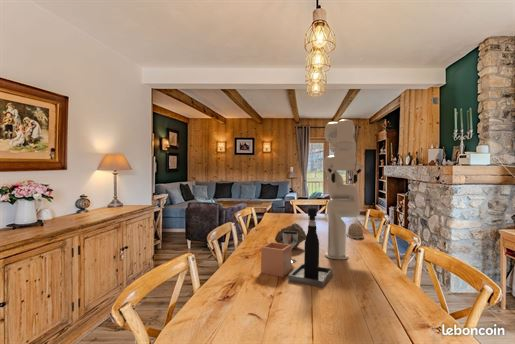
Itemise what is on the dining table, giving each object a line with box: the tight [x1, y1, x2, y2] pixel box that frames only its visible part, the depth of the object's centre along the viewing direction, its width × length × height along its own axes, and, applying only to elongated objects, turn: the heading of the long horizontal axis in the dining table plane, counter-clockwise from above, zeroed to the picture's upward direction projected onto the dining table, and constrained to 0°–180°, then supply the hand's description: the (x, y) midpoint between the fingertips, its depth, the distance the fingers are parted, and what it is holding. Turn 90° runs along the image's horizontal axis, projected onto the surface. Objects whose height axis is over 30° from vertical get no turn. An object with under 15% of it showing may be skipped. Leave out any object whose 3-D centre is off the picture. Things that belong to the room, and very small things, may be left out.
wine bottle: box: [303, 207, 320, 278], centre depth 137 cm, size 6×6×30 cm
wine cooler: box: [260, 241, 293, 278], centre depth 144 cm, size 11×11×12 cm
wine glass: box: [283, 231, 298, 264], centre depth 160 cm, size 8×8×15 cm
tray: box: [287, 263, 333, 288], centre depth 137 cm, size 18×15×2 cm
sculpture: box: [346, 222, 365, 240], centre depth 220 cm, size 12×17×10 cm
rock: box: [274, 222, 307, 249], centre depth 184 cm, size 18×14×15 cm
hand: (344, 182), depth 144 cm, fingers open, 9 cm apart
